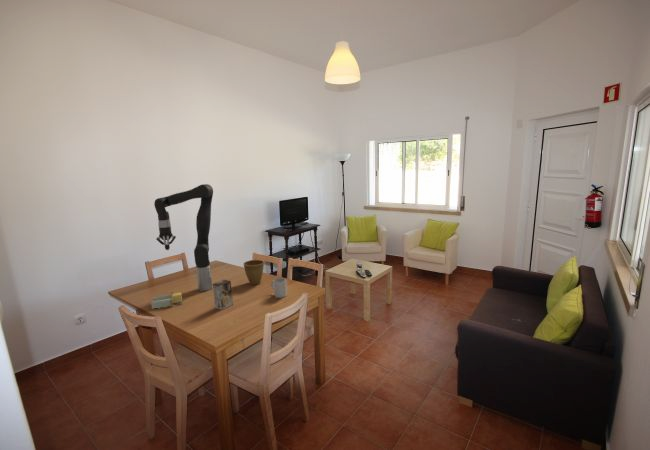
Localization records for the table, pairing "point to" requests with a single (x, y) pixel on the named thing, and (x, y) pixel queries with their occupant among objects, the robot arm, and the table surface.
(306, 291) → the table surface
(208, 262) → the robot arm
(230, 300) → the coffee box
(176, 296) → the block
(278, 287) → the mug
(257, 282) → the plant pot
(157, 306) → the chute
